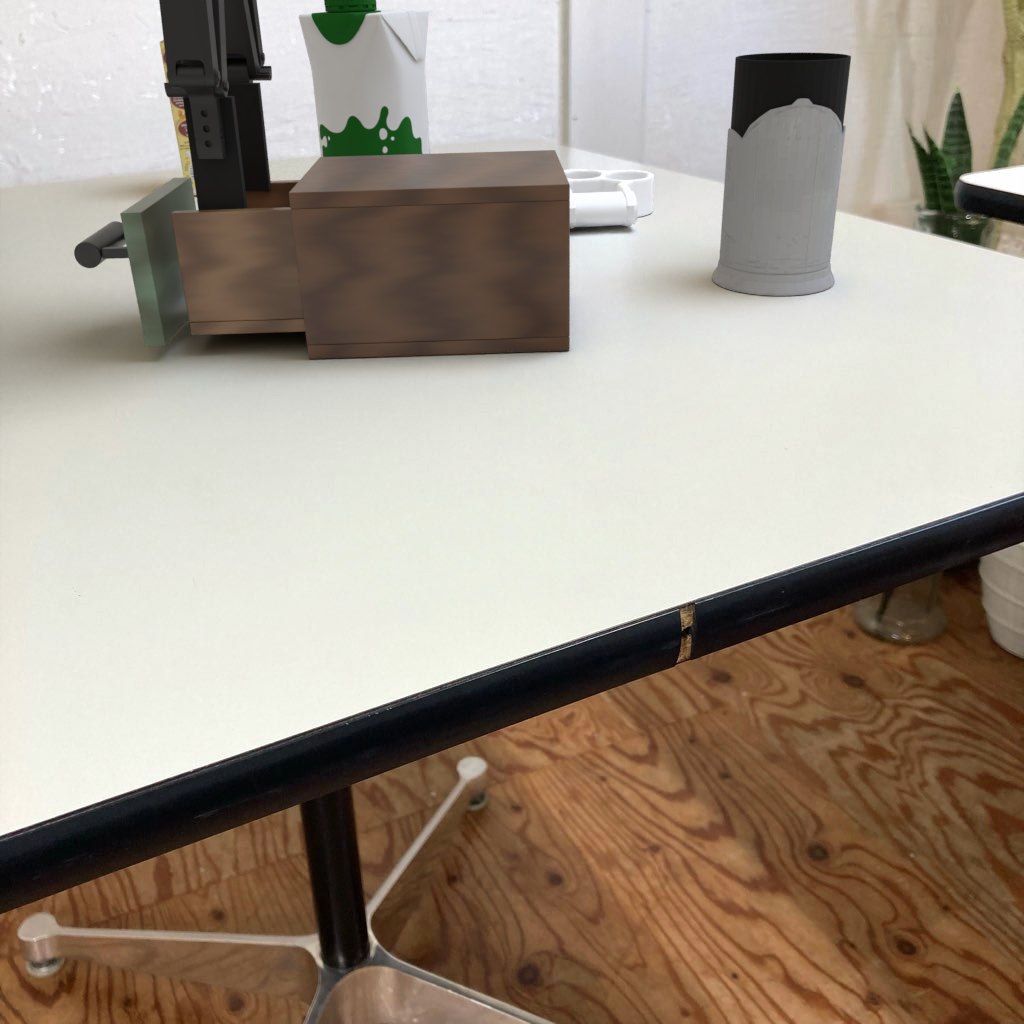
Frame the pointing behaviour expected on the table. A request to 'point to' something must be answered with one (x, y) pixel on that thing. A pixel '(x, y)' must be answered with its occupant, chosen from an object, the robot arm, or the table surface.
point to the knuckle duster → (609, 196)
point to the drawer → (206, 262)
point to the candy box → (180, 128)
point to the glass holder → (782, 173)
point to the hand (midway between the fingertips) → (237, 201)
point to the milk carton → (368, 78)
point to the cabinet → (433, 254)
